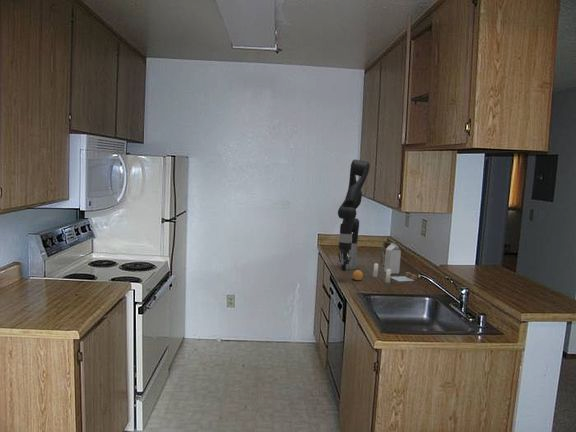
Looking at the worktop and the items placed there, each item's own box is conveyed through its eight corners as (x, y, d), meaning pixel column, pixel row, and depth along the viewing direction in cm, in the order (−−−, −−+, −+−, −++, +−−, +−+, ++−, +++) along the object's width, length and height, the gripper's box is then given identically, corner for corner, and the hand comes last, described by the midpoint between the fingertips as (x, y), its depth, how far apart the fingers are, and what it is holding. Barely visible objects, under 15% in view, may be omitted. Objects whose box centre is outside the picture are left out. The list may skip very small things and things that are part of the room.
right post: (384, 282, 284) (385, 268, 283) (388, 282, 285) (389, 268, 284) (386, 283, 282) (388, 269, 281) (390, 283, 282) (391, 269, 282)
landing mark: (389, 277, 298) (389, 276, 298) (404, 276, 302) (404, 276, 302) (398, 281, 288) (398, 281, 288) (414, 280, 291) (414, 280, 291)
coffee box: (395, 266, 331) (397, 243, 329) (388, 267, 328) (390, 244, 326) (387, 264, 339) (389, 241, 337) (380, 264, 336) (381, 241, 334)
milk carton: (389, 273, 307) (391, 244, 305) (384, 271, 314) (386, 242, 312) (399, 273, 309) (401, 244, 307) (393, 271, 316) (396, 242, 314)
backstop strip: (405, 276, 301) (405, 272, 301) (407, 276, 302) (408, 272, 302) (414, 280, 292) (414, 275, 292) (416, 280, 293) (417, 275, 292)
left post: (372, 276, 298) (373, 263, 297) (376, 276, 299) (377, 263, 298) (374, 277, 296) (375, 264, 295) (378, 277, 297) (379, 264, 296)
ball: (350, 279, 287) (351, 269, 286) (359, 278, 289) (360, 269, 288) (355, 281, 281) (355, 271, 281) (364, 281, 283) (365, 271, 283)
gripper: (334, 239, 284) (332, 268, 286) (344, 243, 272) (342, 273, 274) (346, 239, 287) (344, 268, 288) (356, 243, 274) (354, 273, 276)
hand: (343, 270), depth 281 cm, fingers closed
